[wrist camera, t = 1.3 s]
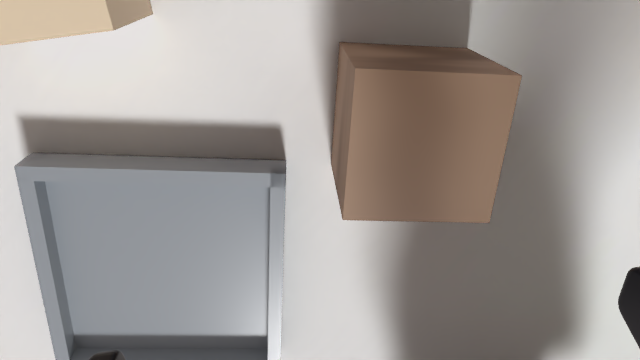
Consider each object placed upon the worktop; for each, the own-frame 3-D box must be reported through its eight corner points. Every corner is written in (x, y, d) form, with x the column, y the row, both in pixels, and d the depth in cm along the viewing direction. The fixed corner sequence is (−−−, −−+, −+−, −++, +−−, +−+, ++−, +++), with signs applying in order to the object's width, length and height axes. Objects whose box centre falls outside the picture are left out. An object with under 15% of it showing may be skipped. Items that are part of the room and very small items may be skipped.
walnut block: (466, 47, 19) (521, 75, 15) (446, 166, 21) (489, 223, 17) (339, 41, 19) (355, 68, 14) (331, 162, 21) (342, 219, 16)
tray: (286, 160, 21) (285, 173, 19) (280, 348, 25) (280, 370, 23) (32, 152, 20) (14, 166, 19) (70, 348, 24) (57, 370, 23)
